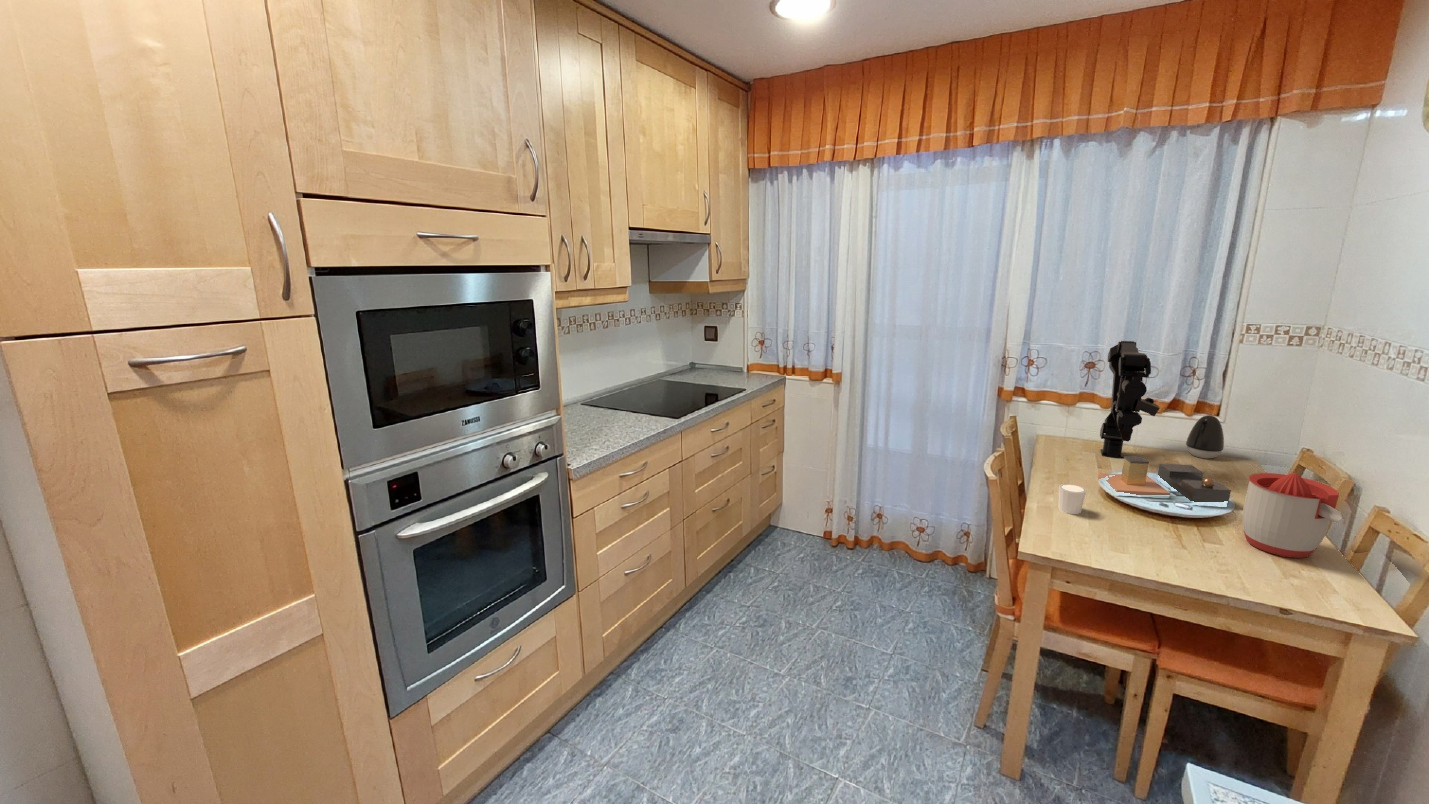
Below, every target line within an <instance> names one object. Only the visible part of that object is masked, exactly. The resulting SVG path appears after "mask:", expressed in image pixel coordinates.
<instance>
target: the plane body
mask: <svg viewBox="0 0 1429 804" xmlns="http://www.w3.org/2000/svg"><path fill="white" fill-rule="evenodd" d="M1157 475H1159V476H1160V478H1162V479H1163V480H1164V481H1166V482H1167V483H1168V484H1169V485H1170V486H1171V487H1173V488H1174V489H1176V490H1177V491H1178V492H1180V493H1181V494H1182V495H1184V496H1185V497H1186V498H1188V499H1189V500H1190V501H1194V502H1224V501H1228V503H1229V501H1230V497H1231V492H1232V489H1230V488H1229V487H1227V486H1225V485H1224V484H1223V483H1220V482H1219V481H1215V480H1214V479H1213V478H1211V477H1204V472H1203V471H1202V470H1200V469H1199V468H1197V467H1196V466H1194V465H1192V464H1173V463H1159V465H1158V469H1157Z"/></svg>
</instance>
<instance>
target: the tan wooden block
mask: <svg viewBox="0 0 1429 804" xmlns="http://www.w3.org/2000/svg"><path fill="white" fill-rule="evenodd" d="M1123 456H1124V455H1123ZM1149 464H1150V461H1149V460H1148V459H1146V457H1145V458H1144V457H1143V456H1135V455H1134V456H1132V455H1130V456H1129V455H1128V456H1127V455H1125V456H1124V457H1123V464H1122V469H1121V470H1122V472H1121V474H1122V476H1121V480H1122V481H1123V482H1124V483H1125V484H1126V485H1142V486H1145V482H1146V476H1148V469H1149Z"/></svg>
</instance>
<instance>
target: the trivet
mask: <svg viewBox="0 0 1429 804" xmlns="http://www.w3.org/2000/svg"><path fill="white" fill-rule="evenodd" d="M1109 475H1115V476H1112V477H1109ZM1106 476H1108V478H1109V479H1108V480H1106V481H1107V482H1108V483H1109V484H1110V486H1111V487H1112V488H1113V489H1115V491H1116V492H1124V493H1130V494H1136V495H1171V492H1169V491H1168V490H1167V489H1165V488H1164V487H1163V486H1162V485H1160V484H1159V483H1158V482H1156V481H1155V480H1154V479H1153V478H1151V477H1150V476H1149V475H1147V476H1146V482H1145V486H1142V485H1126V484H1125V483H1124V482H1123V481H1122V480H1121V476H1122V473H1102V472H1101V473H1100V472H1099V473H1098V476H1097V480H1099V479H1101V478H1105V477H1106Z"/></svg>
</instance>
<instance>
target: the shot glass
mask: <svg viewBox="0 0 1429 804" xmlns="http://www.w3.org/2000/svg"><path fill="white" fill-rule="evenodd" d="M1086 493H1087V489H1086V488H1085V487H1083V486H1081V485H1078V484H1073V483H1062V484H1059V486H1058V510H1059V511H1060V510H1061V512H1062V511H1063V513H1065V514H1068V513H1069V515H1080V514H1081V513H1082V510H1083V505H1084V501H1085V498H1086ZM1079 513H1080V514H1079Z"/></svg>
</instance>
